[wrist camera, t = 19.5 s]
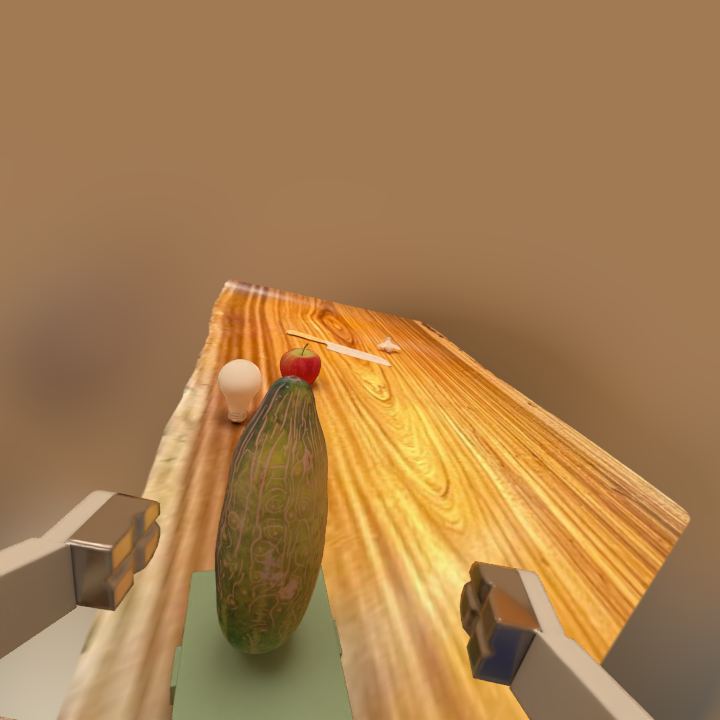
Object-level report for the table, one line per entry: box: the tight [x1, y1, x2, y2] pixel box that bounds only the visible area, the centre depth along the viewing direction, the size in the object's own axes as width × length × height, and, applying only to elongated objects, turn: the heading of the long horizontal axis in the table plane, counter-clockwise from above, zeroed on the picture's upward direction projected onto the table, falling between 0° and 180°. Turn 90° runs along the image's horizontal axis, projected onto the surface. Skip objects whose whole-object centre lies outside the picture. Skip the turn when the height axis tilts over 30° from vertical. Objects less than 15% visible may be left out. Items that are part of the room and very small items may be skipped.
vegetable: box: [215, 376, 328, 654], centre depth 22 cm, size 6×6×20 cm
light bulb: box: [218, 359, 262, 423], centre depth 60 cm, size 7×7×11 cm
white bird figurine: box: [376, 337, 402, 353], centre depth 110 cm, size 8×5×5 cm, turn 101°
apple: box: [280, 343, 321, 385], centre depth 77 cm, size 8×8×10 cm
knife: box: [287, 329, 392, 367], centre depth 104 cm, size 1×34×5 cm
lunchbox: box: [170, 566, 353, 720], centre depth 27 cm, size 12×11×6 cm
